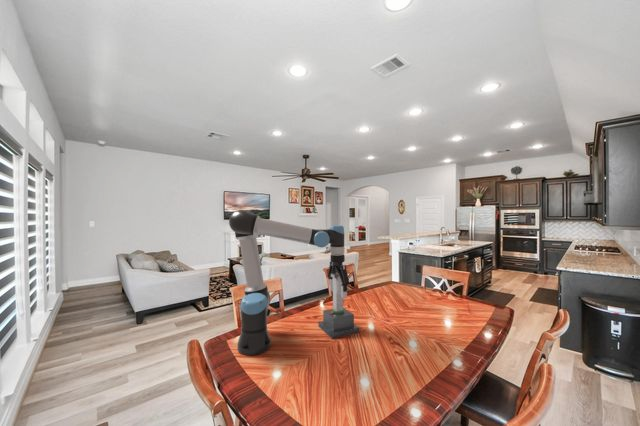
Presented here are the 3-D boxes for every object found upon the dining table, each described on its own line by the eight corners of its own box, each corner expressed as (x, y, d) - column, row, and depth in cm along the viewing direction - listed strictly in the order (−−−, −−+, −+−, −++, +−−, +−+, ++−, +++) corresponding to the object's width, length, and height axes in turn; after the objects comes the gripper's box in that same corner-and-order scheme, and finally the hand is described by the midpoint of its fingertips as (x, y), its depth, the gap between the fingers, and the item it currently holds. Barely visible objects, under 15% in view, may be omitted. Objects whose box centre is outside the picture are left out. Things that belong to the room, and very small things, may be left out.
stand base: (331, 338, 131) (331, 318, 131) (318, 326, 145) (318, 308, 145) (359, 332, 137) (359, 313, 137) (344, 321, 152) (343, 304, 152)
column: (335, 320, 138) (334, 275, 138) (331, 317, 142) (330, 273, 142) (345, 318, 141) (344, 274, 141) (341, 315, 144) (340, 272, 145)
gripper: (356, 257, 132) (356, 299, 132) (333, 251, 154) (333, 287, 154) (342, 258, 129) (343, 302, 128) (321, 251, 151) (321, 289, 151)
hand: (337, 294), depth 141 cm, fingers open, 13 cm apart
